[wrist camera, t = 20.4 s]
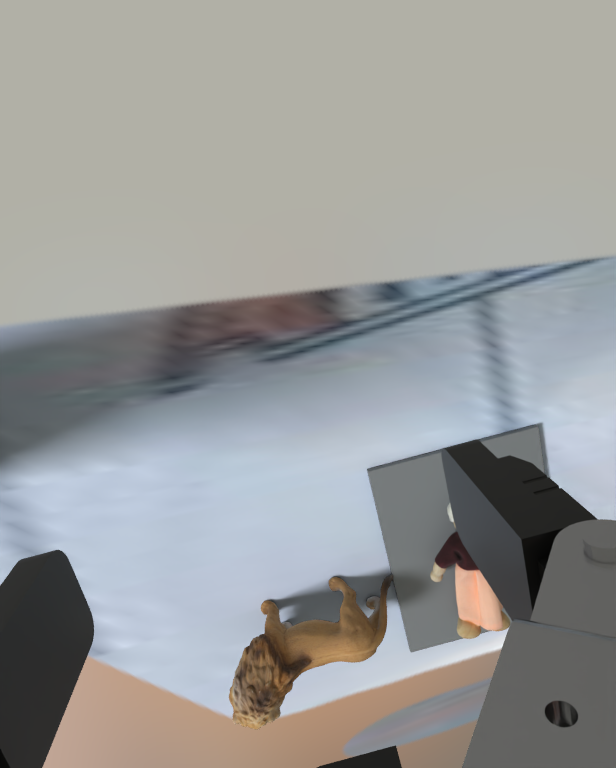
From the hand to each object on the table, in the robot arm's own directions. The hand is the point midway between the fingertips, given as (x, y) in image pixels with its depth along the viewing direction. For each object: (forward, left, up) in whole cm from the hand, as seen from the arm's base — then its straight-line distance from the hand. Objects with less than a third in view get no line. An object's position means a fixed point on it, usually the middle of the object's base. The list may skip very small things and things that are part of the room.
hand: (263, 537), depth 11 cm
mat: (+12, -23, -30) cm, 40 cm away
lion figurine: (-3, -26, -30) cm, 40 cm away
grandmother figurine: (+12, -30, -28) cm, 43 cm away
